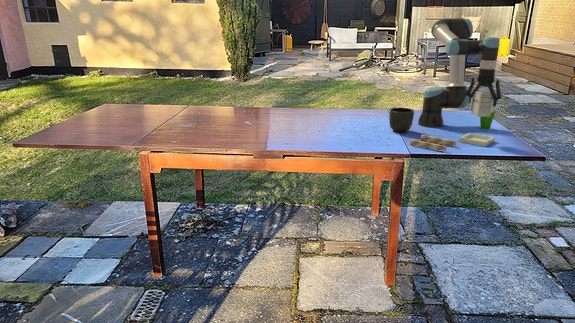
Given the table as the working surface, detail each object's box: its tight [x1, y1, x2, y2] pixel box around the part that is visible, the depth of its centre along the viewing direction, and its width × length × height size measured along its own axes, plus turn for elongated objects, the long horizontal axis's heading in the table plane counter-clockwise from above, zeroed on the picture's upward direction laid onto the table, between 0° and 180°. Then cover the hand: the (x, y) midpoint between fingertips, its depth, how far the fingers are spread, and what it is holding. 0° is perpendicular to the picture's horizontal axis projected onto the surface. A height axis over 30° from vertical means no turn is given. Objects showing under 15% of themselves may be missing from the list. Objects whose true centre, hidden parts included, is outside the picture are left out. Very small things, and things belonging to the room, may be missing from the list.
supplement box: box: [470, 90, 494, 117], centre depth 225 cm, size 7×7×13 cm
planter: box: [388, 107, 415, 134], centre depth 252 cm, size 14×14×13 cm
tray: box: [458, 132, 496, 148], centre depth 232 cm, size 14×14×2 cm
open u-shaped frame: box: [409, 134, 457, 152], centre depth 224 cm, size 19×14×3 cm
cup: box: [479, 110, 497, 131], centre depth 258 cm, size 9×9×11 cm
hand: (481, 110), depth 227 cm, fingers closed on supplement box, 10 cm apart
